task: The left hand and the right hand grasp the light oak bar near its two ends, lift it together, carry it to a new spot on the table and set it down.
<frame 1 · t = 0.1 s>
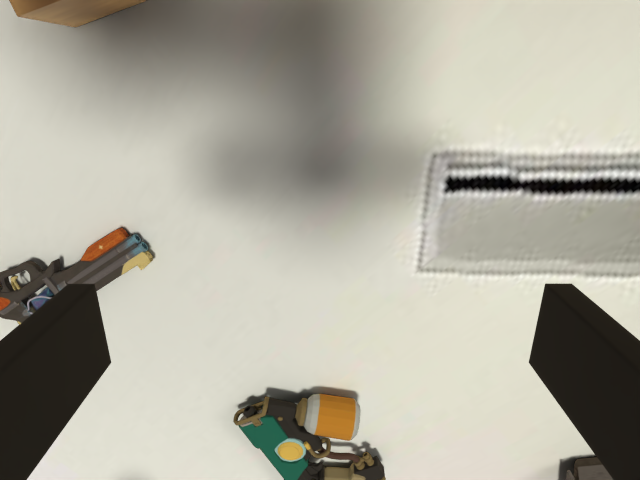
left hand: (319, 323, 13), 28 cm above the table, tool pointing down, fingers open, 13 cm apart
spray gun: (313, 437, 51), on the table
toy gun: (53, 264, 43), on the table
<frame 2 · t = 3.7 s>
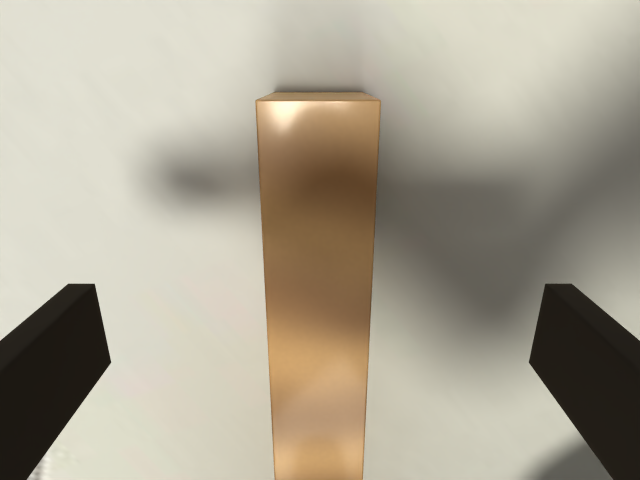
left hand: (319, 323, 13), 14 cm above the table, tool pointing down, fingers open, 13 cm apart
bar: (319, 477, 35), on the table, touching right hand
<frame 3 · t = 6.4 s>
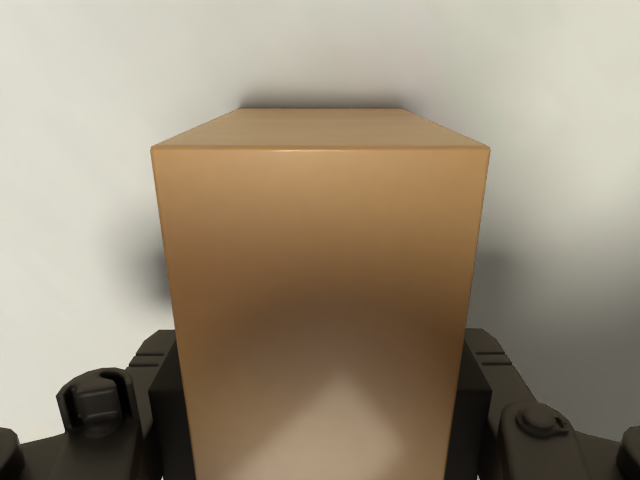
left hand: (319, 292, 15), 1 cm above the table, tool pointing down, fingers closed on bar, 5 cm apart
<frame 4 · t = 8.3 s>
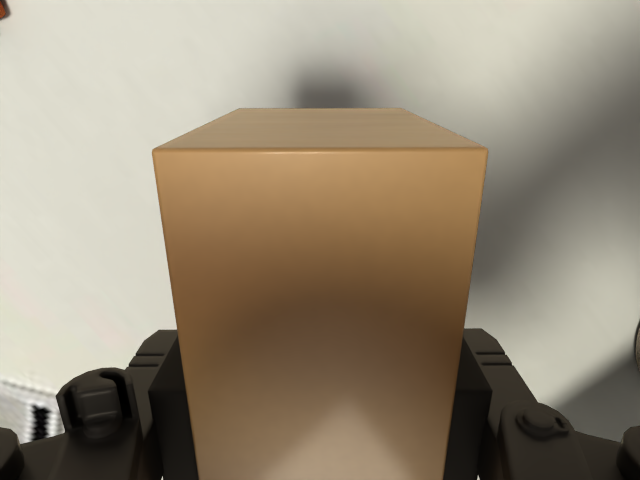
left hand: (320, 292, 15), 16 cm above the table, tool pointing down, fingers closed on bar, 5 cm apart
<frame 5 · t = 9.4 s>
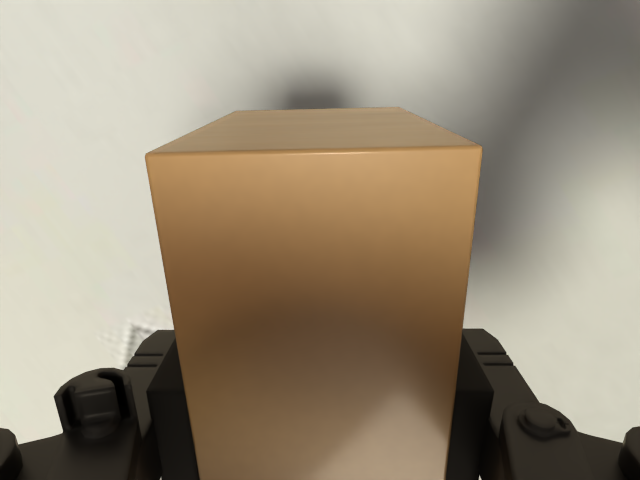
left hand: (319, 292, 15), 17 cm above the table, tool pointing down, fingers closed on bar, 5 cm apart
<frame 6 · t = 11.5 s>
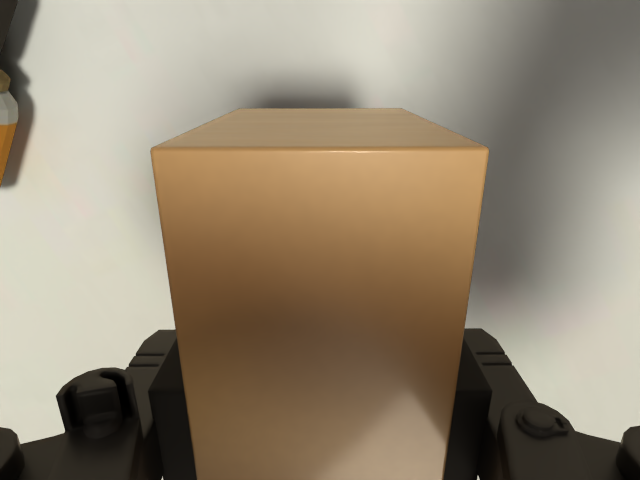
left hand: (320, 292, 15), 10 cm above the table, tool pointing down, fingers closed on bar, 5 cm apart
when the left hand's fingers open (2 cm above the table, at t = 12.9 s): bar drops 1 cm, on the table.
when the right hand's fingers open (2 cm above the table, at t = 12.9 s): bar drops 1 cm, on the table.
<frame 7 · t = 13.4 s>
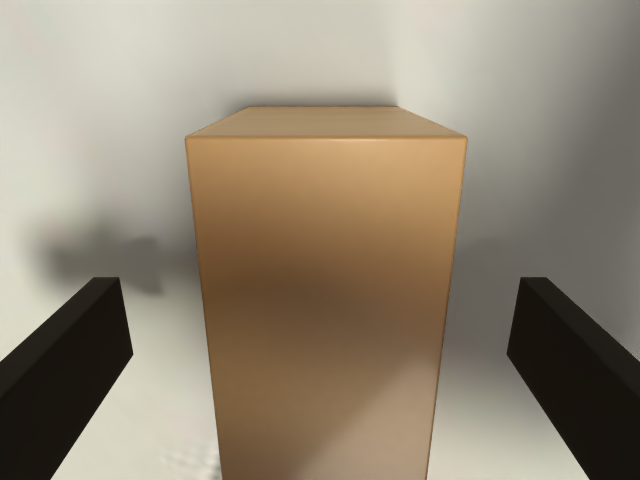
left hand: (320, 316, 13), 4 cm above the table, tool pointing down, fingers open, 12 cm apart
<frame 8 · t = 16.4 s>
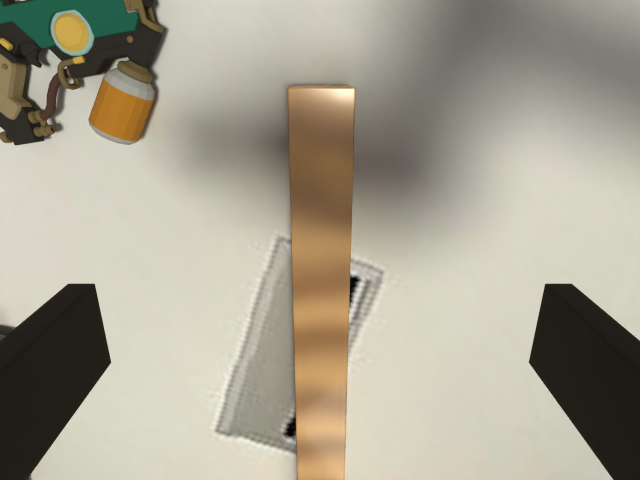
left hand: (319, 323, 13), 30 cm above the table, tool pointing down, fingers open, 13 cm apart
bar: (320, 356, 50), on the table
spray gun: (76, 62, 38), on the table
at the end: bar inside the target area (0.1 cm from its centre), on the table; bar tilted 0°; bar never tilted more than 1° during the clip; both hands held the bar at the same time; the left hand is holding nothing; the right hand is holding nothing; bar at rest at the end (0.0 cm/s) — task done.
